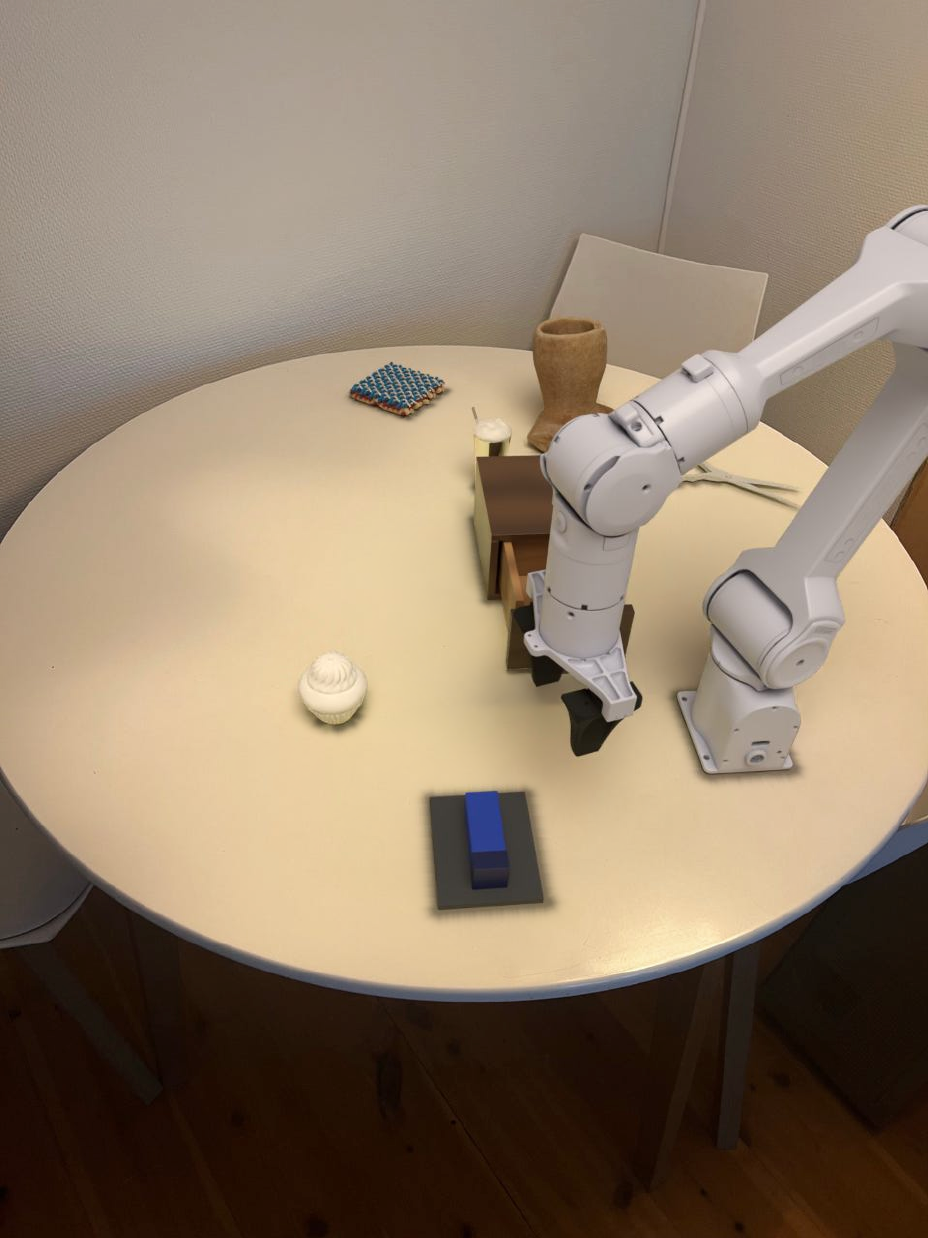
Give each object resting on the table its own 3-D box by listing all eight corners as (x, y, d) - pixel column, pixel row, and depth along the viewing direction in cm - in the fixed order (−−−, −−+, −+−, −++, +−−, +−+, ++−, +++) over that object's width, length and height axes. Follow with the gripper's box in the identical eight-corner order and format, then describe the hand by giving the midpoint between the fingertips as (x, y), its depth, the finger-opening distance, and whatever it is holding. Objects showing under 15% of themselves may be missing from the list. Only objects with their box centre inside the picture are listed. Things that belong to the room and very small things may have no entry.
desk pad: (543, 902, 67) (543, 898, 67) (438, 910, 66) (438, 906, 66) (524, 795, 75) (524, 791, 74) (429, 801, 74) (429, 796, 73)
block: (496, 809, 73) (498, 789, 71) (507, 887, 67) (509, 868, 66) (463, 811, 72) (464, 791, 71) (472, 890, 67) (473, 870, 65)
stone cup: (542, 401, 126) (552, 297, 116) (623, 420, 122) (640, 314, 112) (502, 451, 115) (510, 342, 105) (589, 473, 112) (606, 362, 102)
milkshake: (480, 471, 112) (484, 399, 105) (514, 487, 109) (520, 415, 102) (458, 486, 109) (460, 413, 102) (492, 503, 106) (496, 429, 100)
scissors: (657, 436, 118) (810, 474, 112) (656, 442, 118) (809, 479, 112) (634, 475, 110) (797, 517, 104) (633, 481, 111) (795, 523, 105)
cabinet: (604, 596, 94) (616, 531, 88) (487, 600, 93) (491, 535, 87) (578, 516, 105) (587, 453, 99) (473, 519, 104) (476, 456, 98)
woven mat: (448, 390, 127) (449, 377, 126) (406, 420, 120) (406, 407, 119) (390, 371, 131) (389, 358, 130) (345, 399, 124) (345, 386, 123)
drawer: (635, 700, 82) (647, 648, 77) (513, 706, 81) (519, 653, 76) (595, 576, 95) (604, 525, 91) (490, 580, 94) (494, 528, 90)
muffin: (372, 689, 83) (369, 635, 78) (364, 739, 79) (361, 685, 74) (307, 685, 83) (300, 631, 78) (295, 735, 79) (287, 681, 74)
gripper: (494, 534, 65) (485, 664, 74) (577, 667, 55) (556, 798, 64) (581, 517, 67) (562, 646, 76) (676, 643, 57) (642, 774, 66)
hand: (565, 714), depth 70 cm, fingers open, 7 cm apart
